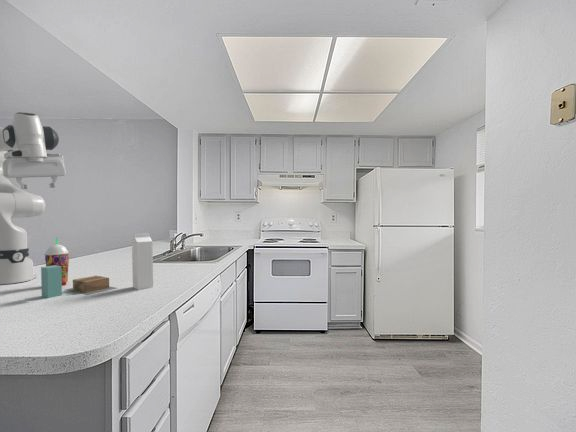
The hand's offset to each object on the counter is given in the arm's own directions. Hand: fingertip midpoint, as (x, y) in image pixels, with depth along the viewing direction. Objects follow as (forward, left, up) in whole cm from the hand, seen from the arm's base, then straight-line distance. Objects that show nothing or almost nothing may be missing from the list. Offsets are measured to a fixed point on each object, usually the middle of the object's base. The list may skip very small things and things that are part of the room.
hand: (38, 188), depth 134 cm
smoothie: (+3, +5, -40) cm, 41 cm away
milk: (+37, +20, -40) cm, 58 cm away
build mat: (+22, +8, -40) cm, 46 cm away
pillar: (+20, -5, -40) cm, 45 cm away
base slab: (+22, +8, -40) cm, 46 cm away
